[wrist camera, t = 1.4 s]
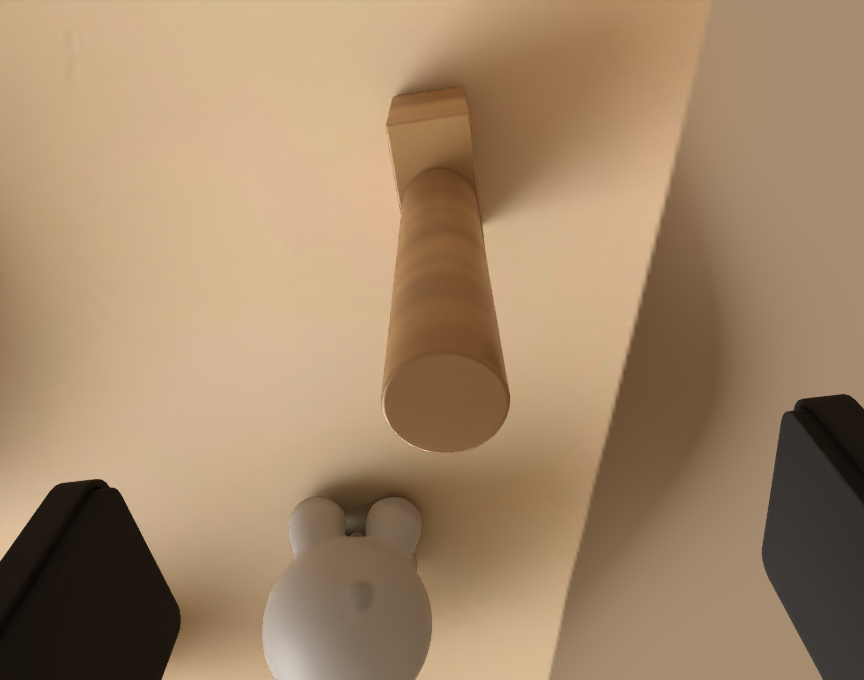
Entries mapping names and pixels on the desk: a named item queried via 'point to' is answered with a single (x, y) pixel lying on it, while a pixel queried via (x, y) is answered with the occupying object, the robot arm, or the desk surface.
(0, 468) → the desk surface
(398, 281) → the wooden stamp
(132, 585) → the robot arm
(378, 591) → the chubby cartoon animal
